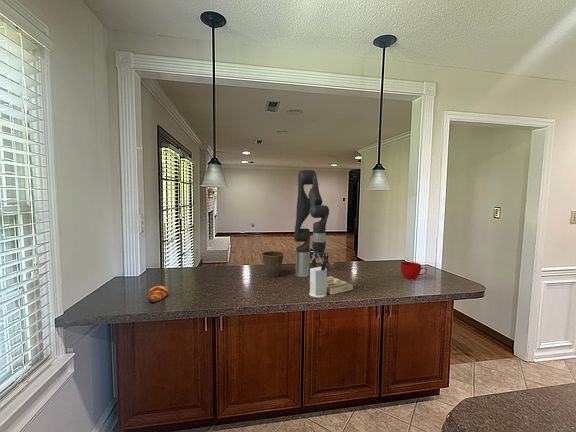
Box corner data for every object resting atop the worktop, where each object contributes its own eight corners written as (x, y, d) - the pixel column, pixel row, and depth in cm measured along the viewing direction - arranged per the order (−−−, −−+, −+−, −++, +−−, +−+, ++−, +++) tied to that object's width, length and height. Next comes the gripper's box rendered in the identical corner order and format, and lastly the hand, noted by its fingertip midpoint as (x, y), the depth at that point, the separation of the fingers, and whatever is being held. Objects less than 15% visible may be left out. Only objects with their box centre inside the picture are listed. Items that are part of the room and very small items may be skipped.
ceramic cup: (424, 283, 191) (425, 268, 190) (397, 278, 201) (398, 264, 200) (428, 278, 201) (429, 264, 200) (403, 274, 211) (403, 260, 210)
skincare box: (320, 290, 174) (321, 266, 172) (327, 293, 168) (327, 268, 167) (309, 293, 169) (309, 267, 168) (315, 296, 164) (315, 270, 163)
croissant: (159, 296, 173) (152, 285, 172) (174, 288, 174) (167, 276, 173) (146, 310, 152) (138, 297, 151) (164, 300, 153) (156, 287, 152)
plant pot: (282, 279, 197) (283, 256, 196) (260, 279, 197) (260, 255, 196) (283, 273, 212) (283, 251, 210) (263, 273, 212) (263, 251, 211)
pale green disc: (305, 293, 171) (305, 292, 171) (319, 290, 176) (319, 289, 176) (316, 298, 162) (316, 297, 162) (330, 295, 167) (330, 294, 167)
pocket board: (310, 284, 186) (310, 280, 186) (331, 280, 195) (331, 276, 195) (331, 294, 169) (331, 289, 169) (352, 289, 178) (352, 284, 178)
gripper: (306, 239, 170) (305, 266, 172) (321, 243, 158) (321, 272, 160) (316, 238, 174) (316, 264, 176) (332, 242, 162) (331, 270, 164)
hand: (318, 268), depth 168 cm, fingers open, 8 cm apart
